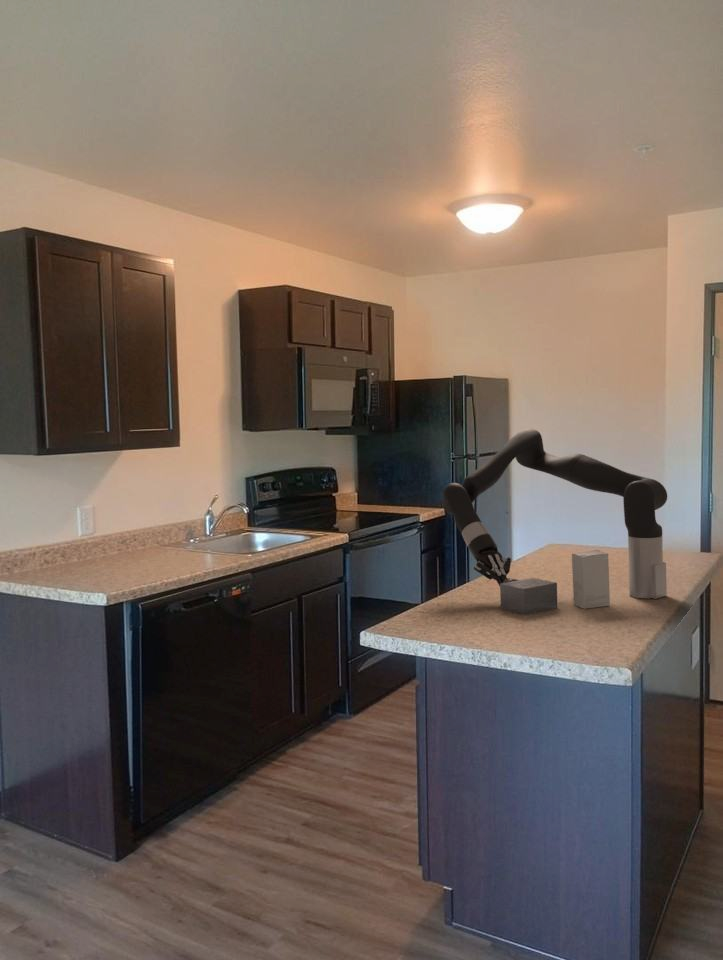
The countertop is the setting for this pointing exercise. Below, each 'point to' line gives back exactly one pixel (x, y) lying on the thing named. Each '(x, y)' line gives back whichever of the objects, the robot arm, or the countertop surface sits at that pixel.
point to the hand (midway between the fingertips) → (507, 588)
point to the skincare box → (591, 579)
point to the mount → (528, 595)
